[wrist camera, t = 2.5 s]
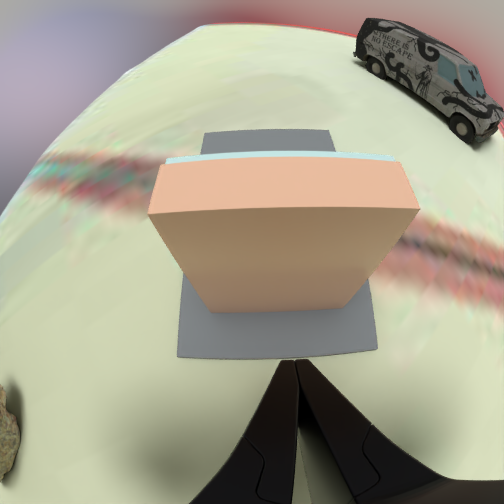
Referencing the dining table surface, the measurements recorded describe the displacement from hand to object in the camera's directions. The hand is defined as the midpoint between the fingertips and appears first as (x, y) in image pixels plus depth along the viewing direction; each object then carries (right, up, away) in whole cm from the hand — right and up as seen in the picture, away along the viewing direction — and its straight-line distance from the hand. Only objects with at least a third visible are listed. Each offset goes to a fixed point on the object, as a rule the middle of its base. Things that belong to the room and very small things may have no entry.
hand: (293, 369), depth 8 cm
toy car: (+25, +28, +22) cm, 44 cm away
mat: (0, +6, +12) cm, 13 cm away
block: (0, +1, +9) cm, 9 cm away
